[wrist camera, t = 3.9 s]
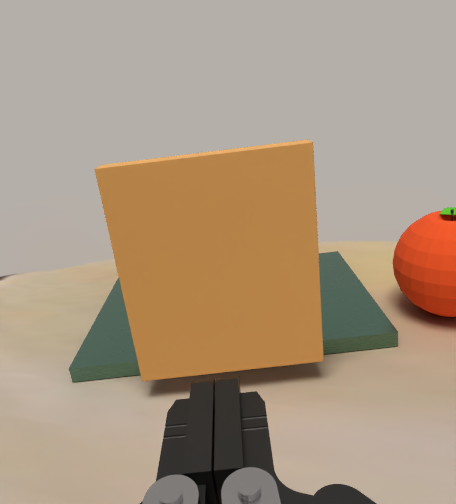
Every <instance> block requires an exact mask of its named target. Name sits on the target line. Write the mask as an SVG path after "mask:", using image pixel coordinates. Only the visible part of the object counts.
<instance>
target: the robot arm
mask: <svg viewBox="0 0 456 504" xmlns="http://www.w3.org/2000/svg"><path fill="white" fill-rule="evenodd" d="M165 426H166V428H165V431H164V439H163V443H162V449H161V455H160V461H159V467H158V473H157V479H156V482H155V483H154V484H153V485H152V486H151V487H150V488H149V489H148V490H147V492H146V494H145V496H144V499H143V502H141V503H140V504H376V503H375V502H373V501H372V500H371V499H369V498H368V497H366V496H365V495H364V494H362V493H361V492H360V491H358V490H356V489H355V488H353V487H350V486H347V485H343V484H332V485H328V486H325V487H323V488H321V489H320V490H318V491H317V492H316V493H315V494H314V496H313V495H308V494H303V493H299V492H296V491H293V490H291V489H289V488H288V487H286V486H285V485H284V484H282V483H281V481H280V480H279V479H278V477H277V476H276V474H275V471H274V466H273V458H272V451H271V444H270V437H269V430H268V423H267V415H266V408H265V402H264V401H263V399H262V398H261V397H260V395H259V394H258V393H257V392H246V393H241V392H240V384H239V377H229V378H220V379H216V384H215V380H214V379H211V380H202V381H192V382H191V389H190V398H189V399H180V400H176V401H175V402H174V404H173V405H172V407H171V408H170V409H169V411H168V413H167V419H166V425H165Z"/></svg>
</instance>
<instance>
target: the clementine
mask: <svg viewBox="0 0 456 504" xmlns="http://www.w3.org/2000/svg"><path fill="white" fill-rule="evenodd" d="M393 268H394V275H395V278H396V280H397V282H398V284H399V287H400V289H401V291H402V292H403V293H404V294H405V295H406V296H407V297H408V298H409V300H410V301H412V302H413V303H414V304H415V305H417V306H419V307H420V308H422V309H424V310H426V311H428V312H430V313H433V314H436V315H440V316H447V317H456V208H451V207H450V208H445V209H444V210H443V211H438V212H434V213H430V214H428V215H426V216H424V217H422V218H421V219H419V220H417V221H416V222H414V223H413V224H411V225H410V226H409V227H408V229H407V230H406V231H405V232H404V233H403V234H402V235H401V237H400V239H399V241H398V243H397V245H396V248H395V252H394V258H393Z"/></svg>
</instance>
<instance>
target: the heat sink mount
mask: <svg viewBox="0 0 456 504" xmlns="http://www.w3.org/2000/svg"><path fill="white" fill-rule="evenodd" d="M319 275H320V296H321V316H322V337H323V354H332V353H341V352H350V351H359V350H368V349H377V348H386V347H395V346H398V331H397V330H396V329H395V327H394V326H393V325H392V323H391V322H390V321H389V319H388V318H387V317H386V315H385V314H384V313H383V311H382V310H381V309H380V307H379V306H378V305H377V303H376V302H375V301H374V299H373V298H372V297H371V295H370V294H369V293H368V291H367V290H366V289H365V287H364V286H363V284H362V283H361V282H360V280H359V279H358V278H357V276H356V275H355V274H354V272H353V271H352V270H351V268H350V267H349V266H348V264H347V263H346V262H345V260H344V259H343V258H342V256H341V255H340V254H339V252H338V251H337V252H329V253H320V254H319ZM69 371H70V374H71V378H72V381H73V382H80V381H89V380H98V379H107V378H116V377H125V376H134V375H141V374H140V369H139V365H138V360H137V356H136V351H135V347H134V343H133V338H132V334H131V329H130V325H129V320H128V316H127V311H126V307H125V302H124V298H123V293H122V289H121V285H120V280H119V278H118V280H117V281H116V283H115V285H114V287H113V289H112V291H111V292H110V294H109V296H108V298H107V300H106V302H105V303H104V305H103V307H102V309H101V311H100V313H99V314H98V316H97V318H96V320H95V322H94V323H93V325H92V327H91V329H90V331H89V333H88V334H87V336H86V338H85V340H84V342H83V344H82V345H81V347H80V349H79V351H78V353H77V355H76V356H75V358H74V360H73V362H72V364H71V366H70V367H69Z"/></svg>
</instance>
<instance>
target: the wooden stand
mask: <svg viewBox="0 0 456 504" xmlns="http://www.w3.org/2000/svg"><path fill="white" fill-rule="evenodd" d="M95 173H96V177H97V182H98V186H99V191H100V195H101V200H102V204H103V208H104V213H105V218H106V222H107V226H108V231H109V235H110V239H111V244H112V249H113V253H114V258H115V262H116V267H117V271H118V276H119V280H120V285H121V289H122V293H123V298H124V302H125V307H126V311H127V316H128V320H129V325H130V329H131V334H132V338H133V343H134V347H135V351H136V356H137V360H138V365H139V369H140V374H141V378H142V381H149V380H158V379H167V378H177V377H186V376H195V375H204V374H213V373H222V372H231V371H240V370H249V369H258V368H267V367H276V366H285V365H294V364H303V363H312V362H321V361H324V357H323V337H322V316H321V296H320V275H319V254H318V234H317V215H316V192H315V172H314V151H313V142H311V141H310V140H301V141H293V142H285V143H277V144H268V145H261V146H252V147H244V148H236V149H228V150H219V151H211V152H204V153H196V154H187V155H179V156H171V157H162V158H154V159H146V160H138V161H131V162H122V163H113V164H106V165H101V166H99V167H97V168H96V169H95Z"/></svg>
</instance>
